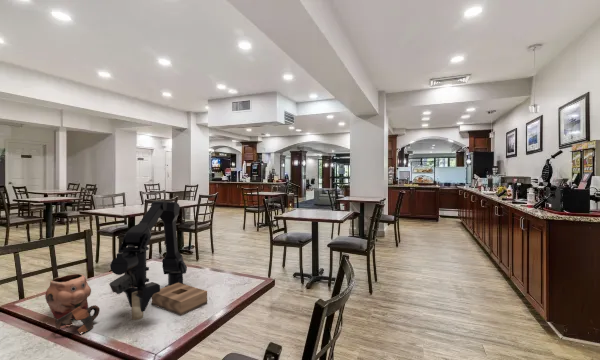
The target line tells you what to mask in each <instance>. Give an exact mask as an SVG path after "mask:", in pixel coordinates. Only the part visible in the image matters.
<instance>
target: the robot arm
mask: <svg viewBox="0 0 600 360" xmlns="http://www.w3.org/2000/svg"><path fill="white" fill-rule="evenodd" d="M180 209H181V208H180V204H179V203H178V202H177V201H163V200H155V201H152V202H151V203H150V207H149V208H148V210H147V211H146V213H145V215H144V216H143V217H142V218H141V220H140V221H139V222H138V223H137V224H136V225H133V226H132V227H131V228H129V229H128V230H127V231H126V233H125V235H124V236H123V238H122V240H121V244H120V245H119V248H118V250H117V251H118V253H116V257H115V258H113V259H112V261H111V262H110V266H109V268H110V270H111V272H112V273H113V274H114V275H117V276H119V277H117V278H116V279H114V280H112V281H111V282H109V287H110V289H111V292H112V293H115V294H116V295H120V294H123V293H125V295H126V298H127V301H128V305H129V306H130V308H132V293H133V292H135V291H137V293H138V294H136V295H135V296H137V297H138V298H139V300H140V308H141V312H143V313H144V312H145V311H146V309H147V307H148V305H149V303H150V301H151V300H152V295H153V294H154V293H157V292H160V289H161V285H160V284H159V283H157V282H153V281H151V282H150V278H148V277H147V271H150V267H148V266H147V251H149V250H150V248H149V247H148V244H149V243H150V241H151V238H152V233H151V232H152V230H153V228H154V226H155V225H156V223H157V222H158V220H159V219H160V220H161V221H162V223H163V229H164V241H165V251H166V254H165V255H164V258H162V259H161V261H162V271H163V275H167V284H166V285H165V286H164V287H167V286H170V285H173V284H176V283H181V284H185V285H187V283H184V276H183V275H184V274H187V270H188V269H187V268H188V266H187V265H186V263H185V261H184V258H183V255H182V253H180V251H179V245H178V234H177V233H178V231H177V219H178V216H179V215H180Z"/></svg>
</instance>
